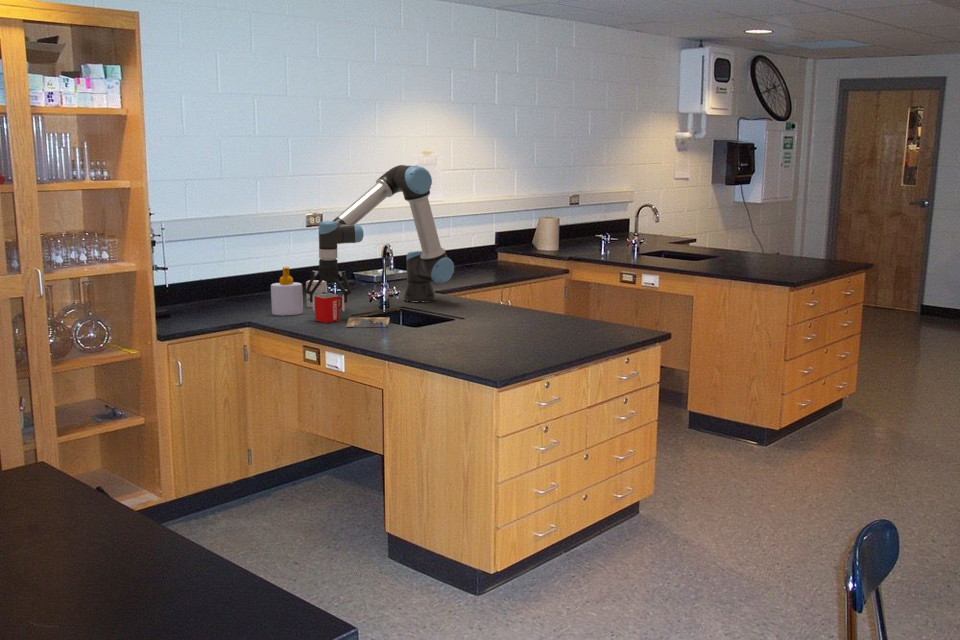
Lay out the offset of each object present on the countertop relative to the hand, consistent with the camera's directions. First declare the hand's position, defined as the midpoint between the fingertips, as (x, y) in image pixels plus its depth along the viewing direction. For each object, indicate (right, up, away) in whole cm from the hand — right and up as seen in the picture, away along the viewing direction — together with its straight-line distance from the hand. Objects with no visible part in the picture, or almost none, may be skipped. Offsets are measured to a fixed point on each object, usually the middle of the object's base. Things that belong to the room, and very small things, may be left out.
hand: (328, 310), depth 392 cm
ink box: (-10, +2, +30) cm, 32 cm away
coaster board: (+17, -5, -5) cm, 19 cm away
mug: (+1, -4, +1) cm, 4 cm away
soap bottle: (-20, -2, +14) cm, 24 cm away
